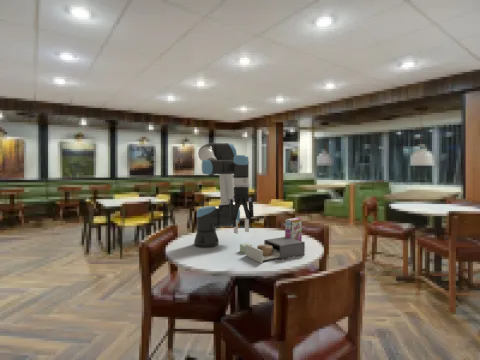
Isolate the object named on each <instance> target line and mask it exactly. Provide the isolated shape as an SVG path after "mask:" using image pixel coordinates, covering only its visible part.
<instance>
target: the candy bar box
mask: <svg viewBox="0 0 480 360" xmlns="http://www.w3.org/2000/svg"><path fill="white" fill-rule="evenodd" d="M284 221H285V222H284V225H285V226H284V237H290V238H293V239H296V240H299V241H302V239H303V238H302V234H303V233H302V231H303V225H302V224H303V218H299V217H294V218H287V219H284Z"/></svg>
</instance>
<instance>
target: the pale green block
mask: <svg viewBox="0 0 480 360" xmlns="http://www.w3.org/2000/svg"><path fill="white" fill-rule="evenodd" d="M246 244H248V245H250V246H252V247H253V244H250V243H248V242H246V243H240V244H239V252H241V253H243V254H246Z"/></svg>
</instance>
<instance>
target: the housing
mask: <svg viewBox="0 0 480 360" xmlns="http://www.w3.org/2000/svg"><path fill="white" fill-rule="evenodd" d="M263 242H264V243H263V245H271V246H273V249H276V250H278V251H280V257H279V258H277V259H278V260H282V261H283V260H286V259H291V258H296V257H297V258H298V257H301V256H305V252H306V251H305V249H306V248H305V247H306V244H305V241H299V240H296V239H293V238H290V237H285V236H281V237H275V238H268V239H264V241H263Z"/></svg>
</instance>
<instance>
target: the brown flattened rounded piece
mask: <svg viewBox="0 0 480 360" xmlns="http://www.w3.org/2000/svg"><path fill="white" fill-rule="evenodd" d="M256 248H257V249H259V250H262V251H263V256H271V255H273V246H271V245H264V244H258V245H257V247H256Z"/></svg>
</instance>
